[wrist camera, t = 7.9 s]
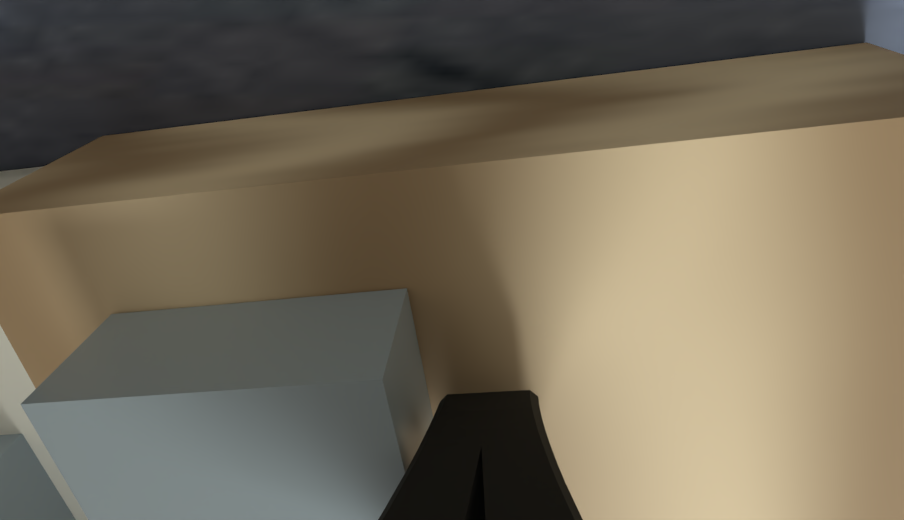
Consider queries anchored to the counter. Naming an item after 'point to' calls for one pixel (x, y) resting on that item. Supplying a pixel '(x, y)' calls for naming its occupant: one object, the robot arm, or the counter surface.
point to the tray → (25, 394)
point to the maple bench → (549, 263)
